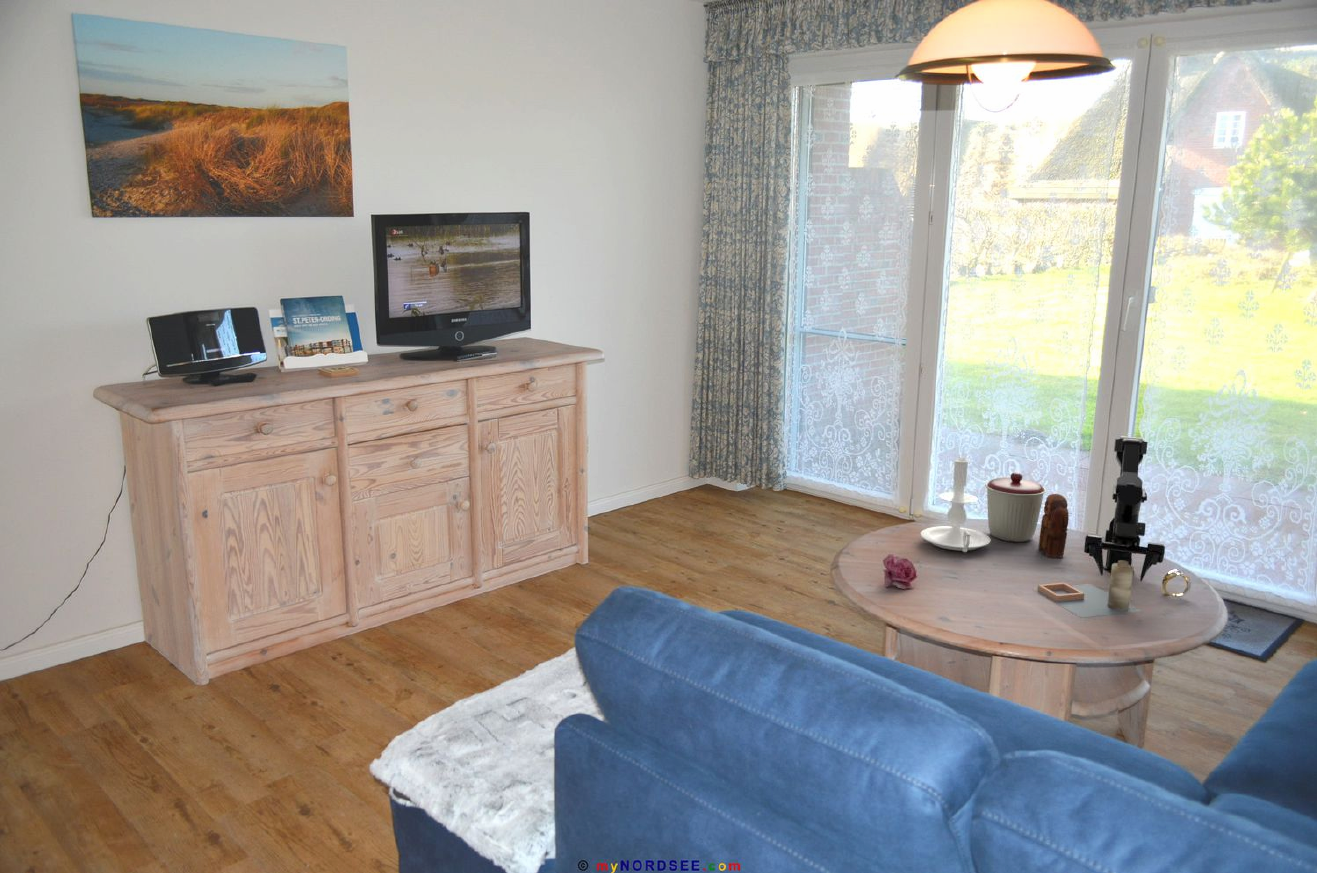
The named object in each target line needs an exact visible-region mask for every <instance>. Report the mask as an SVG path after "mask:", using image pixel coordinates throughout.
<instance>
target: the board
mask: <svg viewBox="0 0 1317 873" xmlns="http://www.w3.org/2000/svg"><path fill="white" fill-rule="evenodd" d="M1032 591H1034V592H1036V593H1038V594H1040V595H1041V596H1043V597H1044V598H1046V599H1048V600H1050V601H1052V602H1053V603H1055V604H1057V605H1058V606H1059V607H1062V608H1063V609H1065V610H1067V611H1069V612H1070V613H1072V614H1073V615H1075V616H1078V617H1079V618H1080V619H1083V618H1096V617H1103V616H1111V615H1112V616H1113V615H1114V616H1115V615H1123V614H1124V615H1125V614H1133V613H1142V612H1143V611H1142V610H1141V609H1138V608H1137V607H1135V606H1133V605H1132V604H1129V609H1128V610H1126V611H1119V610H1114V609H1111V608H1109V607H1108V606H1107V605H1108V596H1109V592H1106V591H1104V590H1103V589H1101V588H1099V587H1096V586H1095V585H1093V584H1091V583H1085V584H1076V585H1075V584H1074V585H1070V584H1068V583H1066V582H1058V583H1057V582H1056V583H1047V584H1046V583H1045V584H1038V585H1037V588H1033V589H1032Z"/></svg>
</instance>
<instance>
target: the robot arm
mask: <svg viewBox="0 0 1317 873" xmlns="http://www.w3.org/2000/svg"><path fill="white" fill-rule="evenodd" d="M1147 450H1148V441H1145V440H1144V438H1143V437H1134V436H1133V437H1132V436H1123V435H1121V436H1120V437H1119V438H1118V439H1117V438H1115V439H1114V446H1113V452H1116V454H1115V460H1116V461H1117V464H1118V465H1119V466H1120V473H1119V476H1118V477H1117V478H1116V485H1113V487H1112V500H1114V503H1116V504H1115V508H1114V517H1113V518H1112V520H1111V521H1110V522H1109V524H1108V529H1107V528H1106V529H1105V534H1104V541H1102V540H1103V536H1102V535H1093V534H1087V535H1086V536H1085V538H1084V539H1085V541H1084V549H1083V552H1084V553H1085V554H1088V556H1089V557H1092V558H1093V559H1094V561H1095V563H1096V566H1097V569H1098V571H1099V574H1100V576H1101V577H1102V576H1104V570H1106V571H1108V572H1110V573H1111V570H1112V564H1114V563H1118V561H1119V560H1124V561H1127V562H1128V565H1131V566H1132V564H1133V563H1132V562H1133V561H1132V560H1133V557H1132V556H1133V555H1134V554H1135V555H1136V554H1139V555H1145V556H1144V560H1143V564H1142V568H1141V572H1140V576H1139V577H1140V579H1139V580H1140V582H1142V581H1143V580H1144V578H1145V576H1146V574H1147V573H1148V571H1149V569H1150V568H1151V567H1152V566H1153V565H1154V566H1156V565H1157V564H1158V563H1159V564H1161V563H1164V562H1163V561H1164V556H1165V553H1166V546H1165V545H1164V544H1163V543H1158V542H1151V541H1148V542H1147V546H1140V543H1141V537H1144V536H1145V534H1146V527H1147V526H1146V525H1147V524H1146V522H1139V515H1140V510H1141V506H1142V504H1143V503H1145V502H1146V501H1148V494H1147V492H1146V489H1145V488H1143V480H1142V479H1141V478H1140V476H1139V465H1140V464H1141V463H1142V461H1143V458H1144V455H1147ZM1140 536H1141V537H1140ZM1103 550H1104V551H1106V550H1107V551H1106V558H1105V559H1106V561H1105V564H1104V561H1103V560H1104V556H1103ZM1134 573H1135V570H1134V569H1133V574H1134Z"/></svg>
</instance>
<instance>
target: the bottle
mask: <svg viewBox="0 0 1317 873" xmlns="http://www.w3.org/2000/svg"><path fill="white" fill-rule="evenodd" d="M1134 568H1135V567H1134V566H1133V565H1132V564H1131V565H1128V562H1127V561H1124V560H1119V561H1118V563H1114V564H1112V570H1111V572H1110V580H1109V588H1108V594H1109V596H1108V605H1107V606H1108V607H1109V608H1111V609H1114V610H1119V611H1126V610H1128V609H1129V605H1130V601H1131V592H1132V586H1133V585H1132V584H1133V577H1134V575H1133V574H1134V573H1133V570H1134Z"/></svg>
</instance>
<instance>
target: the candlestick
mask: <svg viewBox="0 0 1317 873" xmlns="http://www.w3.org/2000/svg"><path fill="white" fill-rule="evenodd" d="M968 461H969V459H968V458H965V457H960V458H958V459H954V468H953V470H954V471H953V478H952V479H953V486H952V491H953V492H951V491H949V492H943V493H939V495H938V498H940V499H942V500H944V501H946V502H949V503H951V507H950V508H949V509H948V511H947V514H946V516H947V521H948V522H949V524H950V525H952V526H950V525H948V526H946V525H945V526H943V525H941V526H932V527H928V528H924V529H923V530H921V531H920V536H921V538H923V539H924V540H926V541H928V542H929V543H930V544H932V545H934V546H936V547H938V548H942V549H946V550H950V551H959V552H960V551H962V552H963V553H967V552H968V551H973V550H976V549H979V548H981V547H984V546H987V545H989V544H990V543H991V541H992V540H991V538H990V536H988V535H987V534H985V533H984V532H981V531H978V530H976V529H972V528H968V527H967V528H966V527H962V525H964V523H965V522H966V520H967V518H968V516H967V512H966V509H965V507H964V505H965V504H968V503H975V502H977V501H979V498H978V497H977V496H975V495H973V494H969V493H965V487H966V486H967V475H968Z"/></svg>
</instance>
